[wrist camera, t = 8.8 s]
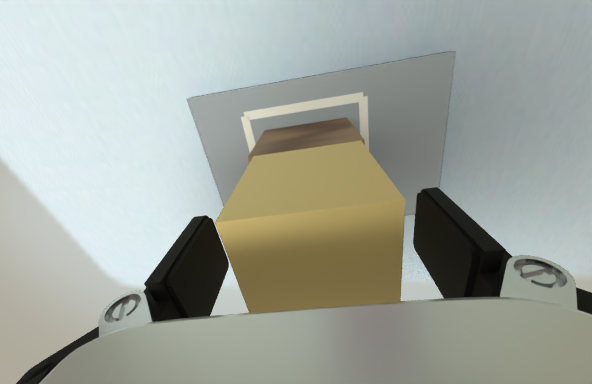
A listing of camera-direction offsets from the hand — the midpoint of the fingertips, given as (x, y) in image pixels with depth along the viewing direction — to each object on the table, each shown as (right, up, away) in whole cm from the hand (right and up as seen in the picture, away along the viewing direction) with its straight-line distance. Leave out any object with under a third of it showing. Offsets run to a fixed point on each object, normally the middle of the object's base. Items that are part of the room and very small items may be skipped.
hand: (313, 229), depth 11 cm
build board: (+1, +5, +9) cm, 10 cm away
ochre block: (0, +2, +2) cm, 3 cm away
